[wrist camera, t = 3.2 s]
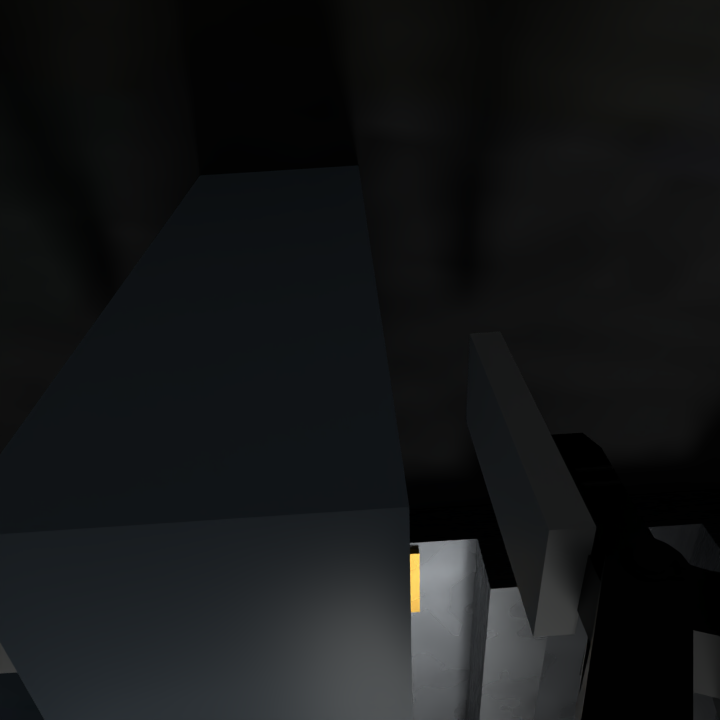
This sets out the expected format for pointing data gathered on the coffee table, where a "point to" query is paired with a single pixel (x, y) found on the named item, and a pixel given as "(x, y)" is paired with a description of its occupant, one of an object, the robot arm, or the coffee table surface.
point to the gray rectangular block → (219, 478)
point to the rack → (514, 614)
